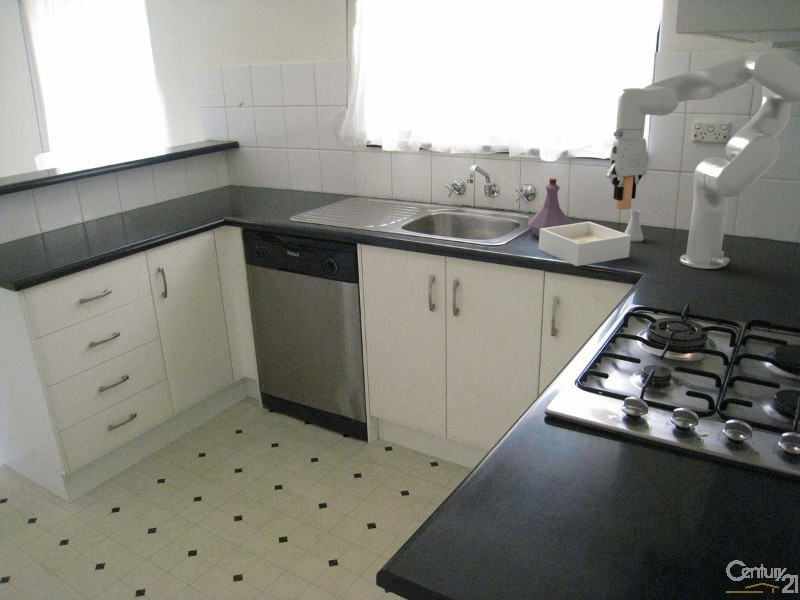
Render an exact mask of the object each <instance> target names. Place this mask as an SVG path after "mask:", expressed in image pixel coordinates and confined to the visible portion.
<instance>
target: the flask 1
mask: <svg viewBox="0 0 800 600" xmlns="http://www.w3.org/2000/svg"><path fill="white" fill-rule="evenodd" d="M557 180H558V179H557V178H549V181H548V182H549V183H548V184H547V185H545V190H546V196H545V199H544V202H543V206H542V207H541V208H540V209H539V210H538V212H536V213H535V214H534V215H533V216H532V217H531V218H530V219H529V220H528V221H527V224H528V227H529V229H530V230H531V231H532V232H533V233H534V235H535V236H536V238H539V232H540V229H542V228H549V227H555V226H562V225H569V224H573V222H572V221H571V219H569V217H568V216H567V215H566V214H565V213H564V212H563V210H562V209H561V207H560V203H559V198H558V194H559V193H558V192H559V190H560V186H559V185H558V184H557Z"/></svg>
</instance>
